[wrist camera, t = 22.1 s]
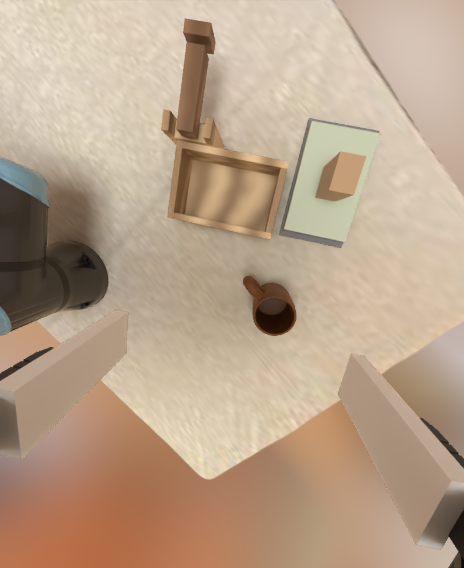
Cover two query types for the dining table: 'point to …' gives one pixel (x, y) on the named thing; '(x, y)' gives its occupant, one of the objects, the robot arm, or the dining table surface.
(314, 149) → the lid
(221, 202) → the toolbox
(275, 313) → the mug
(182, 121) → the bar
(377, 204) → the dining table surface
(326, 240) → the mat
